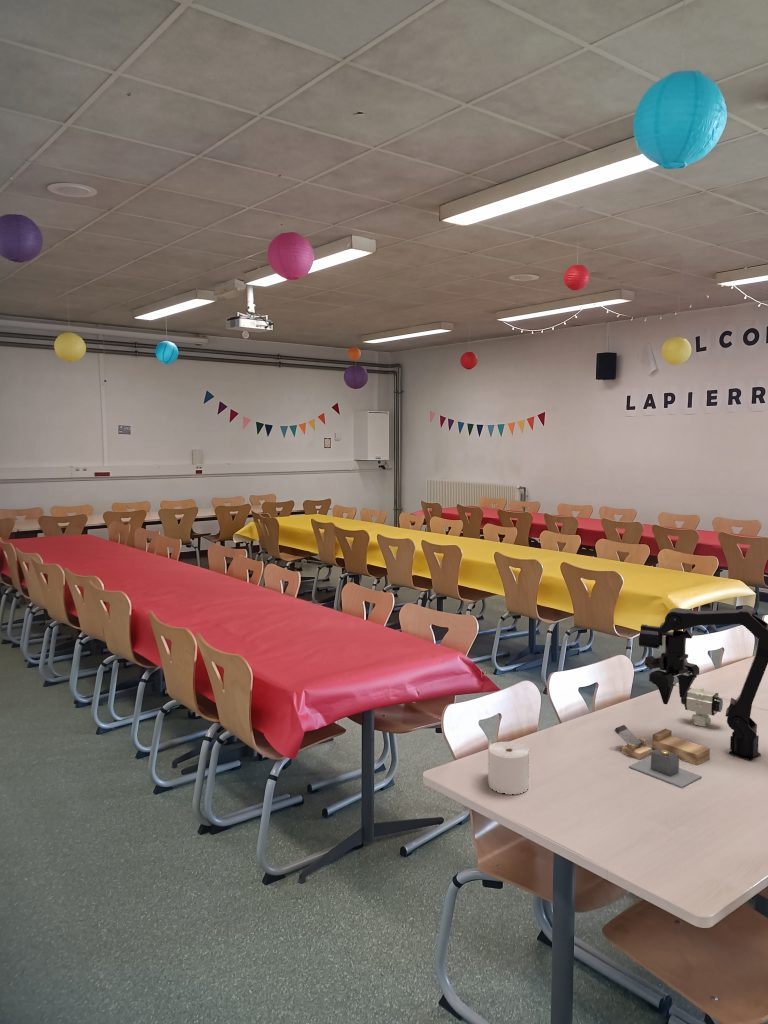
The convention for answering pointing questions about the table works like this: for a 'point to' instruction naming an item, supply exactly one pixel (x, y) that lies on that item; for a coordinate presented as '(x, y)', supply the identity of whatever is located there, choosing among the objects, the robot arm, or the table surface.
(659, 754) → the grey knobbed drawer
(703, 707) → the pneumatic valve
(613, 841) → the table surface
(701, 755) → the body
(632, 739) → the lever
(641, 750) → the lever mount
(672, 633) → the robot arm
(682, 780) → the felt pad
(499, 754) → the toilet tissue
